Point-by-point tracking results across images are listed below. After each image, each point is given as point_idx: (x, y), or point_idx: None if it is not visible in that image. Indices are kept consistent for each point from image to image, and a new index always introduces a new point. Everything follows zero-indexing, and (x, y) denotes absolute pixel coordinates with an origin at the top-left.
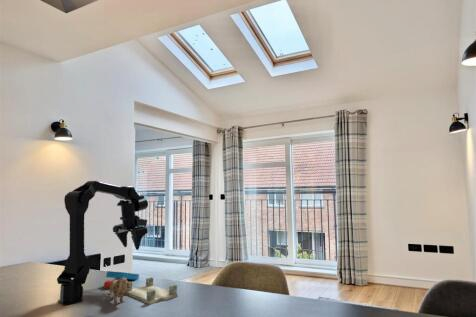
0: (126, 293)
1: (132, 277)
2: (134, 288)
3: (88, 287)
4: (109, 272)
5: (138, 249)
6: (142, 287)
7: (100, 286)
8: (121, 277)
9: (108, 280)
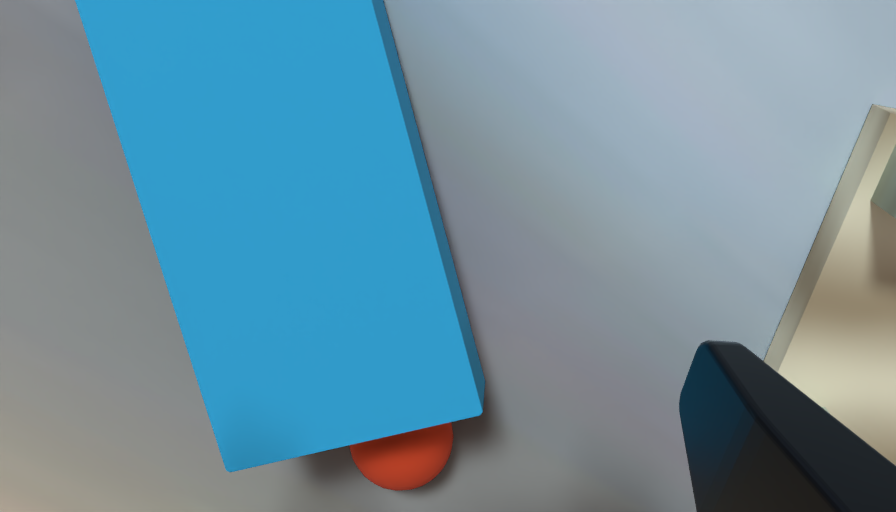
0: None
1: (392, 52)
2: (804, 351)
3: (184, 493)
4: (277, 454)
5: (727, 348)
6: (875, 274)
7: None
8: (475, 347)
9: (393, 465)
